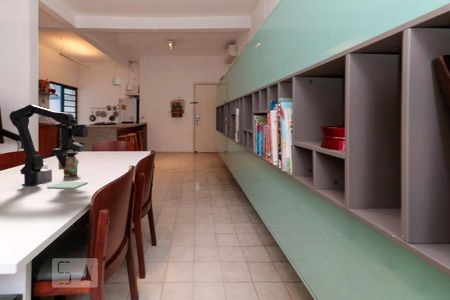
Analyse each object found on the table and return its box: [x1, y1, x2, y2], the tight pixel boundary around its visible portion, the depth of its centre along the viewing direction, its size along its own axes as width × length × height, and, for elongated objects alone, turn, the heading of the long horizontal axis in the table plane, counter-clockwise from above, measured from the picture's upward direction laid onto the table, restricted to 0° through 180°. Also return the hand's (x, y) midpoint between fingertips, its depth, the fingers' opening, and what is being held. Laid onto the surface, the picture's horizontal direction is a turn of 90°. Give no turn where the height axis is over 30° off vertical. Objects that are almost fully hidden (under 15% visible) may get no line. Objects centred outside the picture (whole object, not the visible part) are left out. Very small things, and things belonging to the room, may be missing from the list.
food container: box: [63, 158, 79, 178], centre depth 193 cm, size 12×6×10 cm, turn 179°
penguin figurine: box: [41, 161, 49, 169], centre depth 190 cm, size 6×8×12 cm
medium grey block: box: [38, 168, 53, 182], centre depth 179 cm, size 6×6×6 cm
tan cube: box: [57, 156, 77, 171], centre depth 165 cm, size 6×6×6 cm
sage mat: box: [46, 181, 88, 190], centre depth 166 cm, size 14×14×1 cm
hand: (67, 166), depth 165 cm, fingers closed on tan cube, 6 cm apart
